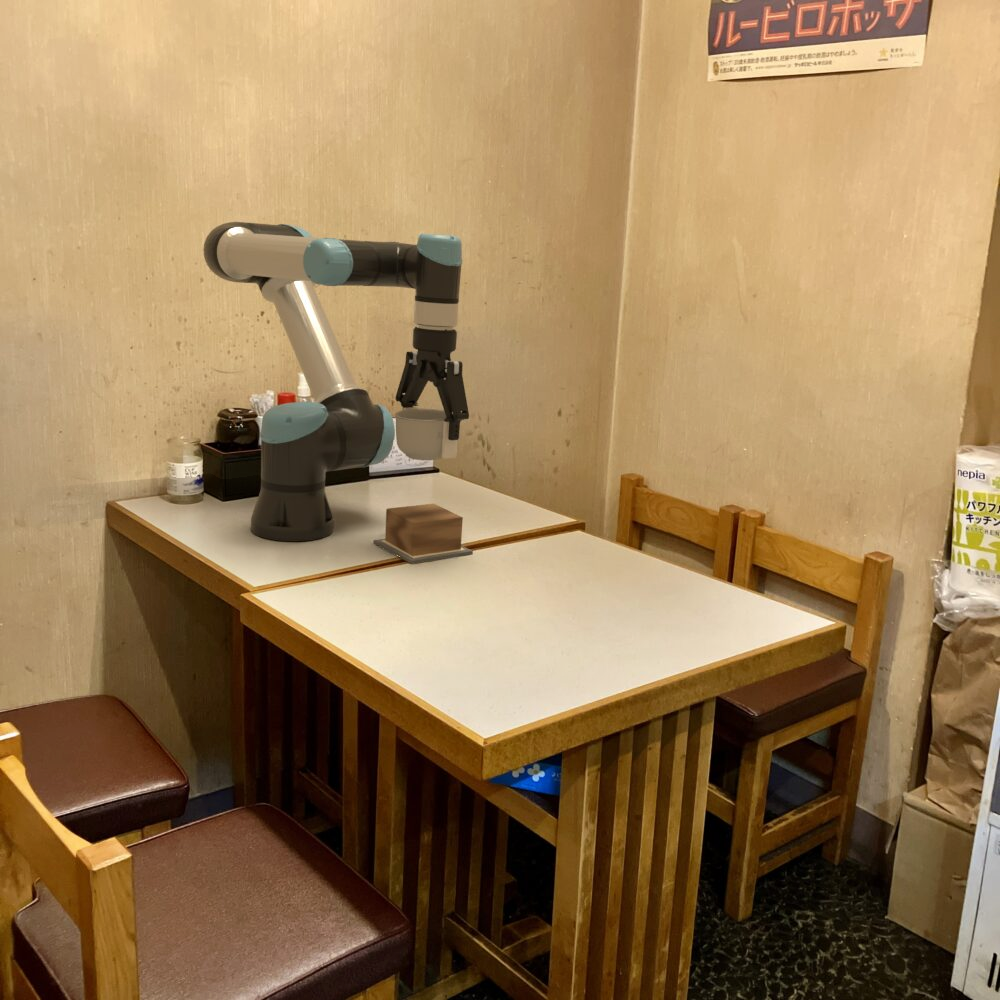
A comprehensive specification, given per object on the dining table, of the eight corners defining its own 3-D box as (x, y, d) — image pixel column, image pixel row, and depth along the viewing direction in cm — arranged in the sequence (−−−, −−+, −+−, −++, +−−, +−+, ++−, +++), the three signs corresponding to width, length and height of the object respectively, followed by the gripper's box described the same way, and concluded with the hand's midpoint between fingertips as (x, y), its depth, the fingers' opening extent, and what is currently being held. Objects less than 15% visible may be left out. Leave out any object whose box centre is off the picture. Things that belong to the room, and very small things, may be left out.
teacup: (446, 466, 170) (449, 420, 168) (385, 459, 172) (387, 413, 170) (463, 451, 183) (467, 408, 181) (407, 444, 185) (409, 401, 183)
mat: (373, 543, 182) (373, 539, 182) (432, 534, 190) (432, 531, 190) (411, 564, 172) (411, 560, 172) (472, 554, 180) (472, 550, 180)
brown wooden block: (385, 540, 182) (386, 508, 181) (432, 534, 188) (433, 503, 186) (412, 556, 174) (414, 523, 173) (460, 549, 180) (462, 517, 178)
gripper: (495, 335, 165) (486, 463, 170) (414, 319, 183) (408, 435, 188) (459, 335, 160) (450, 466, 166) (379, 319, 178) (374, 438, 184)
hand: (428, 450), depth 177 cm, fingers closed on teacup, 12 cm apart
